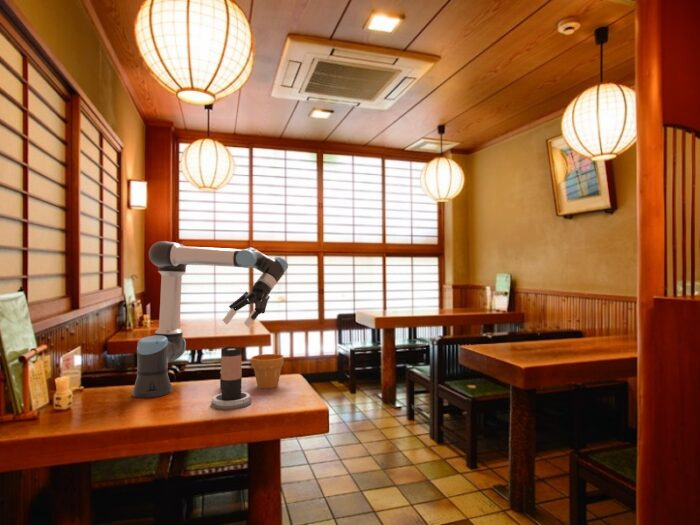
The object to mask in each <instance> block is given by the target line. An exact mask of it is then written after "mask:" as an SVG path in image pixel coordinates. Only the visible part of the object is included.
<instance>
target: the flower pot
mask: <svg viewBox="0 0 700 525" xmlns="http://www.w3.org/2000/svg"><path fill="white" fill-rule="evenodd" d="M284 359H285V358H284V355H282V354H278V353H267V354H266V353H264V354H257V355H252V357H250V363H251V368H253V373H254V377H255V381H256V385H257V388H258V387H259V389H263V388H268V389H274V388H277V387H278V385H279V381H280V377H281V372H282V367H283V366H284ZM276 386H277V387H276ZM273 387H274V388H273Z"/></svg>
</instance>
